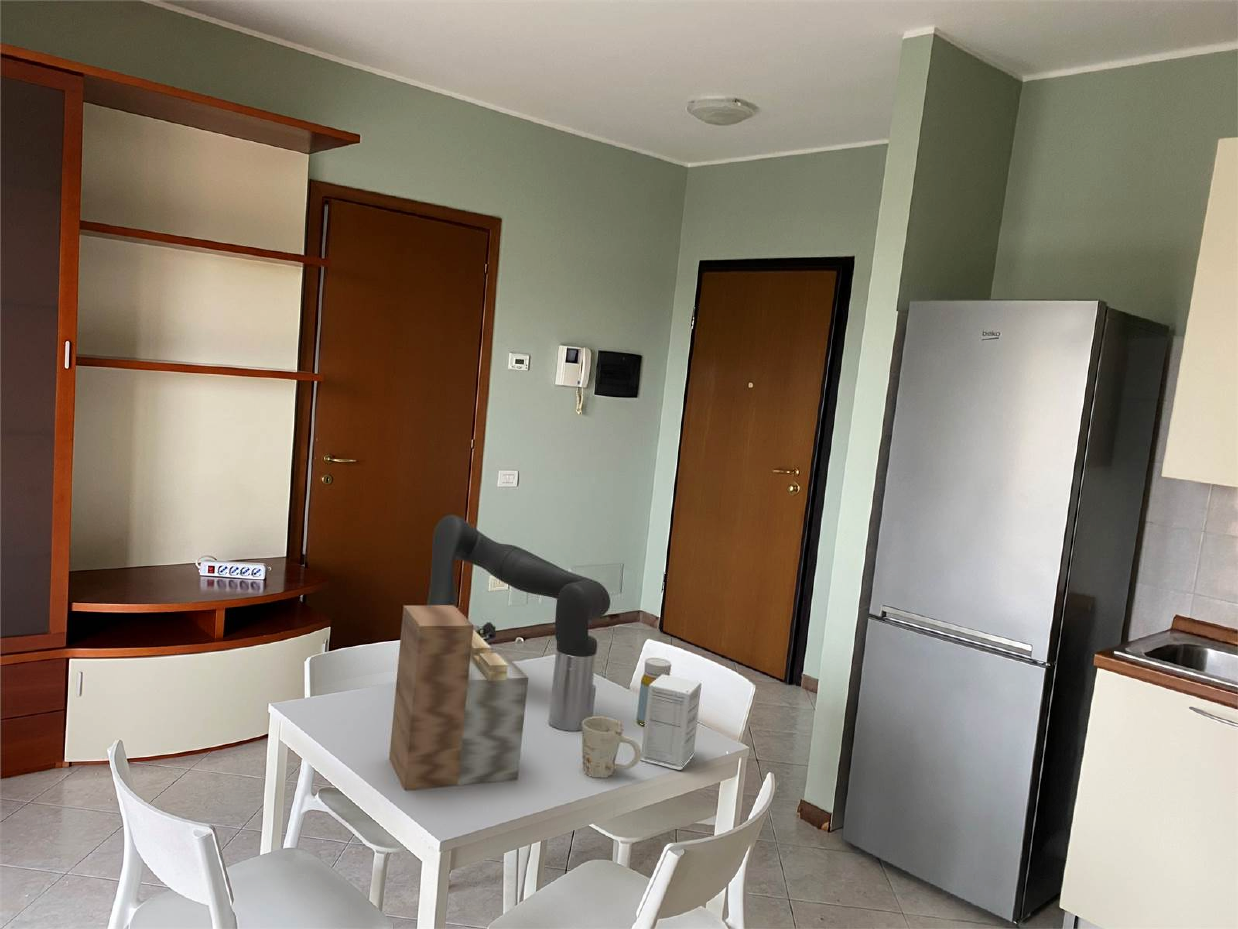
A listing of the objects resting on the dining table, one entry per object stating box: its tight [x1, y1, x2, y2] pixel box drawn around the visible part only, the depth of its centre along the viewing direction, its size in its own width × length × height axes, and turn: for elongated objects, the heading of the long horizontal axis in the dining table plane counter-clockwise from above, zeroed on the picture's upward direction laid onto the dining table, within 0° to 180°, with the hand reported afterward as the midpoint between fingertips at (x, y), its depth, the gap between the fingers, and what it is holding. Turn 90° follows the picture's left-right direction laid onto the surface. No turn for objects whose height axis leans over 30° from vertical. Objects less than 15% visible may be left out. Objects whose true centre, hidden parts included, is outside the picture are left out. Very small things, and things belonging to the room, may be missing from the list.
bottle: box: [636, 657, 672, 725], centre depth 213 cm, size 7×7×15 cm
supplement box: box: [640, 674, 702, 767], centre depth 193 cm, size 10×9×17 cm
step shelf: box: [388, 604, 529, 791], centre depth 176 cm, size 22×14×31 cm, turn 116°
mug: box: [581, 716, 642, 778], centre depth 183 cm, size 8×13×10 cm, turn 82°
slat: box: [470, 630, 508, 681], centre depth 181 cm, size 4×24×3 cm, turn 26°
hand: (470, 627), depth 188 cm, fingers open, 8 cm apart
